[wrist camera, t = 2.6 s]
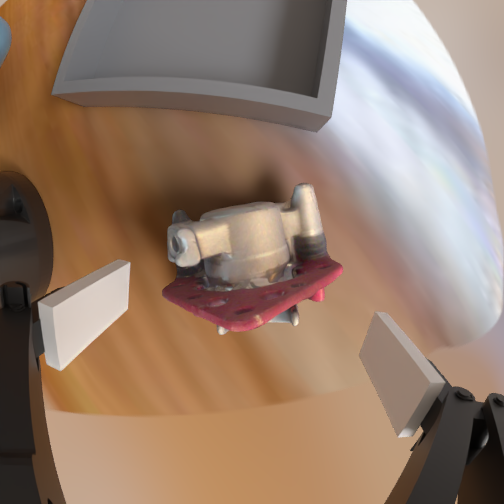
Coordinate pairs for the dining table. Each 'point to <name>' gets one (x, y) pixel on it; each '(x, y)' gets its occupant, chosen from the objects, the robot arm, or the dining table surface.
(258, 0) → the parts bin
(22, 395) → the robot arm
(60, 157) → the dining table surface
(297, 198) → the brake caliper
